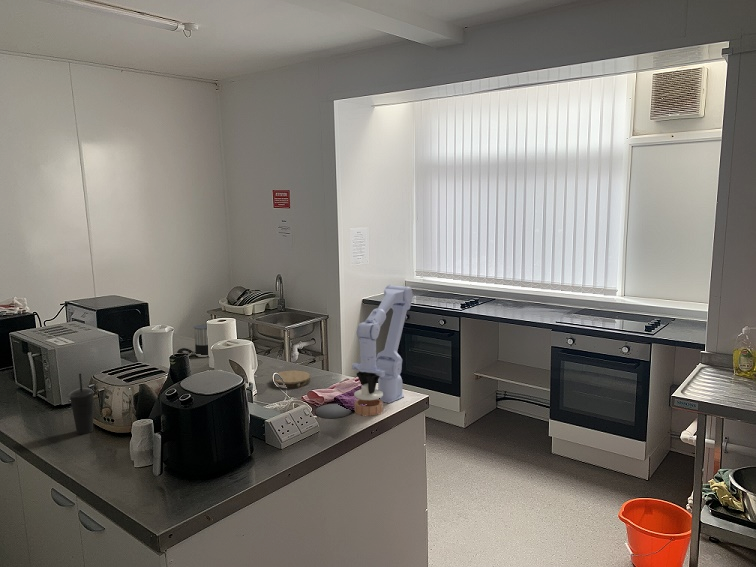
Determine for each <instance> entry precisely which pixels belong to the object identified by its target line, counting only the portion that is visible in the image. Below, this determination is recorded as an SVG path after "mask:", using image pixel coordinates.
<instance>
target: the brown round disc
mask: <svg viewBox="0 0 756 567" xmlns="http://www.w3.org/2000/svg"><path fill="white" fill-rule="evenodd" d="M277 373H278V374H279V375H280V376H281V377H282V379H283V380H284V383H285V385H286V387H287V388H288V389H287V390H292V389H299V388H303V387H306V386H308V385H309V384H311V374H310V373H309V372H307V371H304V370H296V369H295V370H286V371H285V370H284V371H280V372H277ZM276 382H277V383H278V384H279V385H283V383H282V381H281V380H280V379H279V380H276ZM271 385H272V386H273V385H274V386H276V385H275V384H274V382H273V375H272V376H271ZM274 386H273V387H274Z"/></svg>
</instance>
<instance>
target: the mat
mask: <svg viewBox="0 0 756 567" xmlns="http://www.w3.org/2000/svg"><path fill="white" fill-rule="evenodd" d="M338 404H339V403H328V404H327V403H326V404H323V405H320V406H319V407H317V408H316V409H315V414H316V415H317V416H318V417H320V418H324V419H342V418H345V417H348V416H349V415H350V414H352V411H351V410H352V409H351V410H349V409H346V408H344V407H342V406H340V405H338Z"/></svg>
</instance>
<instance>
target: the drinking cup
mask: <svg viewBox="0 0 756 567" xmlns="http://www.w3.org/2000/svg"><path fill="white" fill-rule="evenodd" d="M78 379H79V381H78V382H79V388H76V389H74V390H72V391H70V392H69V393H68V397H69V399H70V405H71V410H72V415H73V419H74V425H75V430H76V434H78V435H87V434H90V433H93V431H94V404H95V403H94V398H95V397H94V396H95V395H94V394H95V392H94V391H95V390H94V389H93V390H94V391H93V390H92V388H88V387H83V380H82V373H78Z"/></svg>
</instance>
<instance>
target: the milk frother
mask: <svg viewBox="0 0 756 567" xmlns="http://www.w3.org/2000/svg"><path fill="white" fill-rule="evenodd" d="M207 324H208V323H202V324H195V325H193V332H194V347H195V348H194V349H195V353H196V354H201V355H208V344H207V342H208V338H207ZM185 352H188V354H189V353H191V352H192V353H193V352H194V351H193V350H191V349H190V348H187V347H182V348H179V349H178V350H177V351H176V354H177V353H185ZM195 353H194V354H195Z"/></svg>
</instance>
